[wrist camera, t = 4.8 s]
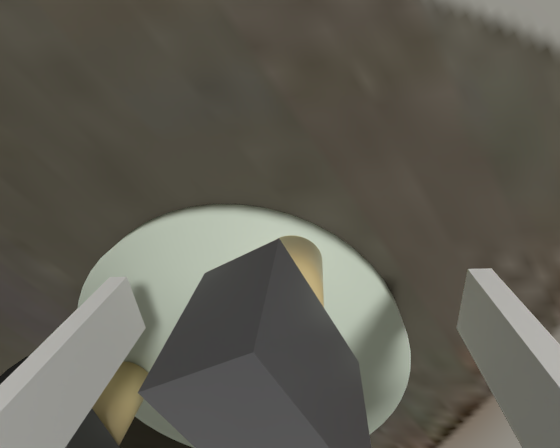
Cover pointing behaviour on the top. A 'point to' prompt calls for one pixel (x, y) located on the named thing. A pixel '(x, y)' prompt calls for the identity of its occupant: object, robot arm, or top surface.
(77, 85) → the top surface
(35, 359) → the robot arm
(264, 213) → the base
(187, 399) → the grey block on peg
